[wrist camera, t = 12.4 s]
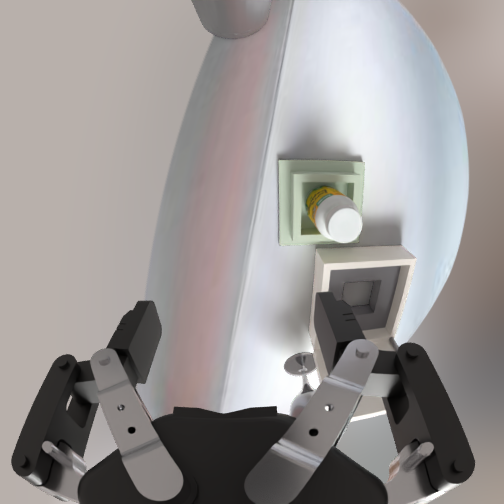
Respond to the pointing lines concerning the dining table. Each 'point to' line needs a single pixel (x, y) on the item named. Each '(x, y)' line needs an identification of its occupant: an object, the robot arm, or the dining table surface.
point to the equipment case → (381, 302)
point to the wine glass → (302, 367)
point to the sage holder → (298, 187)
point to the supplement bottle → (333, 214)
